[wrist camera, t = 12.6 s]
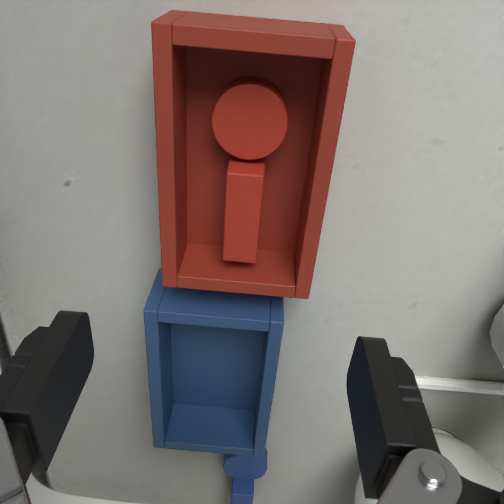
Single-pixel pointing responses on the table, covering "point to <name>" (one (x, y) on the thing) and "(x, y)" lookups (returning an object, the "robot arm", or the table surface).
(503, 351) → the can
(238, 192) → the red spoon
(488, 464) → the trinket box
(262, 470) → the blue spoon
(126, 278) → the table surface
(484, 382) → the pencil
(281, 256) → the red bin
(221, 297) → the blue bin
